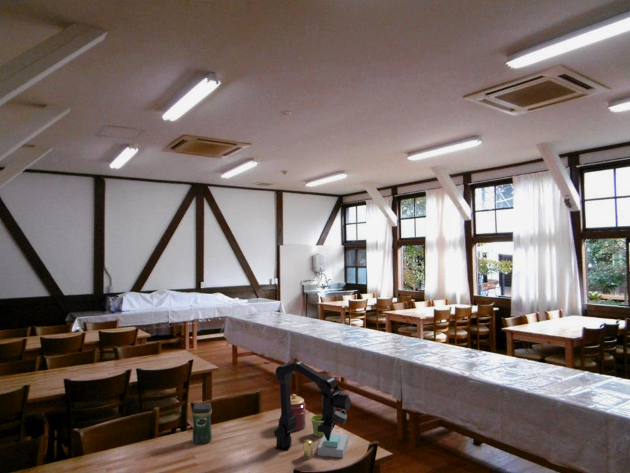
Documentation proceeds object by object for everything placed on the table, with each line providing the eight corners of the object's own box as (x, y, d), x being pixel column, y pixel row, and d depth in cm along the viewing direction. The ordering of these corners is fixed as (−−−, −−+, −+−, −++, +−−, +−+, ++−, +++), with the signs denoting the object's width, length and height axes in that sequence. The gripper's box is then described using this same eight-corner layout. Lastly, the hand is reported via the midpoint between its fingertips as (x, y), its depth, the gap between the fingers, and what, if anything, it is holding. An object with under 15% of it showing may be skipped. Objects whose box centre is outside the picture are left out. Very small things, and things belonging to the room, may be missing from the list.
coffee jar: (212, 437, 222) (212, 400, 223) (211, 443, 214) (211, 406, 215) (193, 438, 220) (193, 401, 221) (190, 445, 213) (191, 407, 213)
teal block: (324, 445, 204) (324, 440, 204) (327, 439, 210) (327, 434, 210) (337, 447, 202) (337, 442, 202) (340, 440, 209) (340, 435, 209)
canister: (279, 423, 240) (279, 391, 240) (301, 421, 243) (302, 389, 244) (284, 433, 227) (285, 399, 228) (308, 430, 231) (308, 396, 232)
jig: (317, 454, 203) (317, 447, 203) (325, 439, 219) (325, 432, 219) (342, 457, 200) (342, 450, 200) (348, 442, 216) (348, 434, 216)
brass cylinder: (302, 458, 199) (302, 443, 199) (304, 454, 203) (304, 439, 203) (311, 459, 198) (311, 444, 198) (313, 455, 202) (313, 440, 202)
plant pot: (313, 439, 219) (313, 422, 219) (308, 432, 228) (308, 415, 228) (330, 437, 222) (330, 420, 222) (325, 430, 231) (325, 413, 231)
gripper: (342, 415, 187) (342, 451, 187) (348, 400, 205) (348, 433, 205) (317, 412, 190) (317, 448, 189) (325, 398, 208) (325, 431, 207)
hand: (328, 440), depth 198 cm, fingers closed
